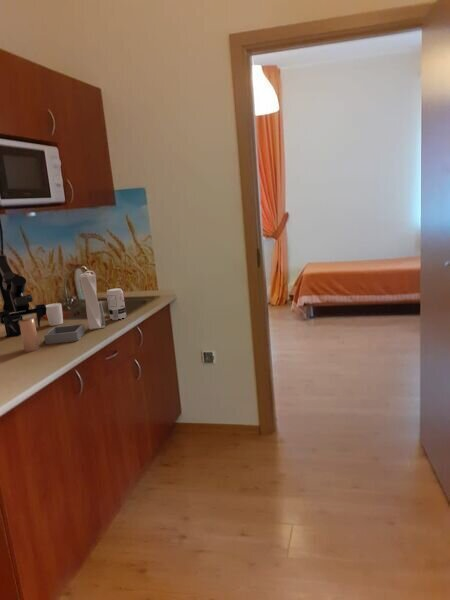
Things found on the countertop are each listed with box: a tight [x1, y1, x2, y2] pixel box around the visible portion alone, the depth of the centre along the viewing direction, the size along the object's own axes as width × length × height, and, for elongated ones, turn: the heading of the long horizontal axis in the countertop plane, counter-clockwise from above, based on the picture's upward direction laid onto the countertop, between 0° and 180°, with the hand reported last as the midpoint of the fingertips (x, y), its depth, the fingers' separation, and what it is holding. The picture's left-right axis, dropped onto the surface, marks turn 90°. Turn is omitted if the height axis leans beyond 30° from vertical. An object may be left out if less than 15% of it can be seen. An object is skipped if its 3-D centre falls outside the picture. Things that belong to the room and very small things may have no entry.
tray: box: [44, 323, 86, 345], centre depth 214 cm, size 14×14×4 cm
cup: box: [19, 317, 40, 353], centre depth 200 cm, size 6×6×13 cm
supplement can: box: [106, 287, 127, 321], centre depth 241 cm, size 8×8×15 cm
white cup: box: [45, 302, 64, 327], centre depth 243 cm, size 8×8×10 cm
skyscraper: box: [79, 270, 107, 331], centre depth 225 cm, size 8×8×28 cm
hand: (27, 329), depth 201 cm, fingers open, 9 cm apart
